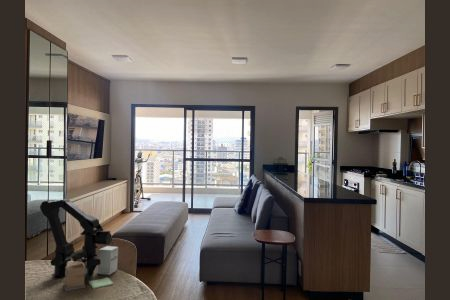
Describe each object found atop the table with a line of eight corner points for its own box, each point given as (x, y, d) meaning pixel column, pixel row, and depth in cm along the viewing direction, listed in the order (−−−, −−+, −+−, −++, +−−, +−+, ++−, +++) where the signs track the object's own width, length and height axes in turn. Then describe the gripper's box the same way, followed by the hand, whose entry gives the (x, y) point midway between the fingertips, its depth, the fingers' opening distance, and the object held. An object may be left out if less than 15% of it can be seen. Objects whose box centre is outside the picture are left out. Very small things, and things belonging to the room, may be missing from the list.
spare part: (82, 277, 149) (83, 267, 149) (92, 275, 152) (92, 265, 152) (84, 280, 145) (85, 269, 145) (94, 278, 148) (95, 268, 148)
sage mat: (88, 282, 142) (88, 281, 142) (107, 278, 148) (107, 277, 148) (93, 288, 135) (93, 287, 135) (113, 284, 141) (113, 283, 141)
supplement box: (109, 275, 152) (110, 250, 153) (97, 273, 154) (98, 249, 155) (117, 270, 160) (118, 246, 160) (105, 269, 161) (106, 245, 162)
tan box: (63, 286, 138) (64, 266, 138) (82, 282, 142) (82, 263, 143) (65, 291, 132) (66, 270, 133) (85, 287, 137) (86, 267, 137)
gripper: (69, 241, 152) (67, 272, 151) (76, 250, 137) (74, 285, 136) (92, 239, 159) (90, 268, 158) (101, 247, 144) (100, 279, 143)
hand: (88, 275), depth 148 cm, fingers closed on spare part, 4 cm apart
